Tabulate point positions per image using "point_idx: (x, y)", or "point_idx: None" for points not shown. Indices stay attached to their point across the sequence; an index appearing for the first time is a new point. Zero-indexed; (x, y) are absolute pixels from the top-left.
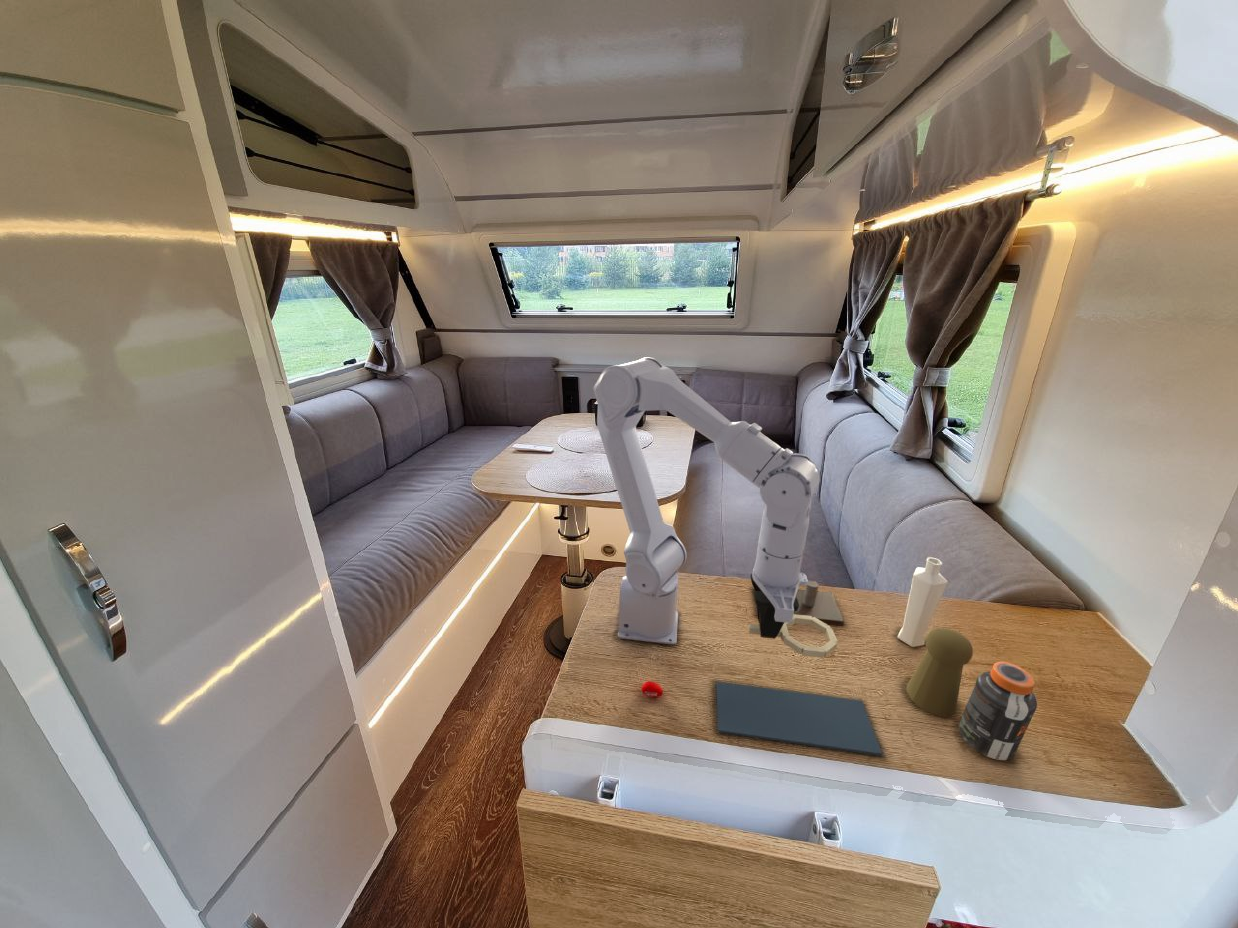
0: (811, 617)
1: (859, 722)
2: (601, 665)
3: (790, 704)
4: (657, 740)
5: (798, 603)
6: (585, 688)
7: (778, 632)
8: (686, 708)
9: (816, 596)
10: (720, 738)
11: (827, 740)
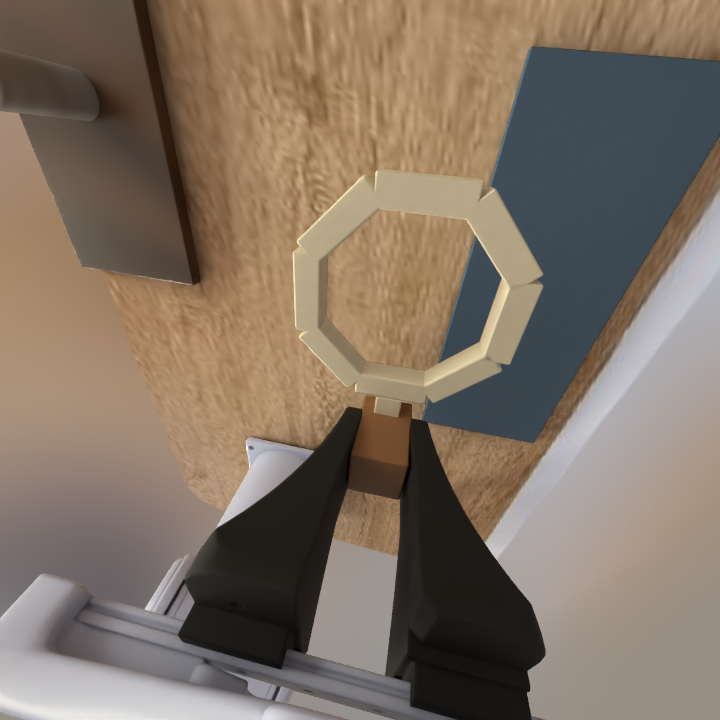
0: (304, 257)
1: (614, 105)
2: (382, 532)
3: None
4: (524, 505)
5: (506, 629)
6: None
7: (431, 438)
8: (472, 466)
9: (19, 38)
10: (544, 438)
11: (633, 244)
